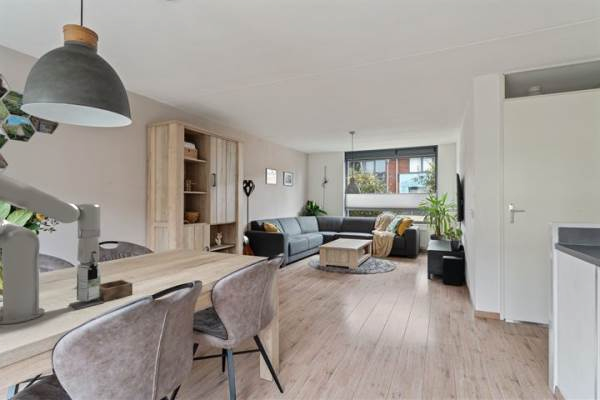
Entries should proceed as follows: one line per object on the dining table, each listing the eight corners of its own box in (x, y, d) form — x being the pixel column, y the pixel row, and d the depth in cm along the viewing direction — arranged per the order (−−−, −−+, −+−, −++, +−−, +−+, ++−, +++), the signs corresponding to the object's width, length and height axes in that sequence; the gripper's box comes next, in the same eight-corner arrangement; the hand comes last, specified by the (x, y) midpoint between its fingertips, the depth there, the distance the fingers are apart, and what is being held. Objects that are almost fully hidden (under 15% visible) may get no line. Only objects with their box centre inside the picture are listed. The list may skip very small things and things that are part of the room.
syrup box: (90, 296, 124) (90, 261, 124) (100, 297, 122) (100, 262, 122) (76, 300, 118) (76, 264, 118) (87, 302, 117) (87, 265, 117)
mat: (77, 309, 113) (77, 308, 113) (69, 304, 119) (69, 303, 119) (103, 303, 121) (103, 301, 121) (95, 298, 126) (95, 297, 126)
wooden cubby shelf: (104, 301, 123) (104, 289, 123) (94, 296, 129) (94, 285, 129) (132, 294, 131) (132, 283, 131) (121, 290, 138) (121, 279, 138)
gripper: (70, 233, 123) (70, 276, 123) (86, 236, 112) (85, 283, 112) (91, 231, 129) (91, 272, 129) (108, 234, 118) (108, 279, 118)
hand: (89, 277), depth 120 cm, fingers open, 7 cm apart
